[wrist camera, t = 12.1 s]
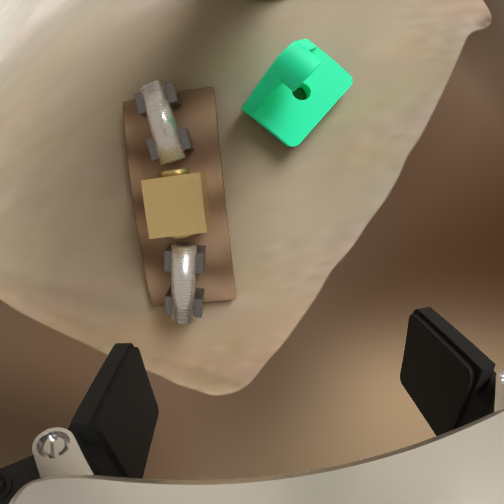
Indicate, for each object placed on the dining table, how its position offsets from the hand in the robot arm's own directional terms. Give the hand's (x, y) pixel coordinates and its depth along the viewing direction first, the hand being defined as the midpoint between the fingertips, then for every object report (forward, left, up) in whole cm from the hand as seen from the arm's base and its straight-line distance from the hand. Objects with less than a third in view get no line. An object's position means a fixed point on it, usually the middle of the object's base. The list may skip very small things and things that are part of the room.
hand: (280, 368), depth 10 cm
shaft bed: (-3, -8, -30) cm, 31 cm away
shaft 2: (+6, -8, -29) cm, 31 cm away
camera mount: (-14, +8, -31) cm, 35 cm away
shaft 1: (-12, -8, -29) cm, 32 cm away
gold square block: (-3, -7, -29) cm, 30 cm away
